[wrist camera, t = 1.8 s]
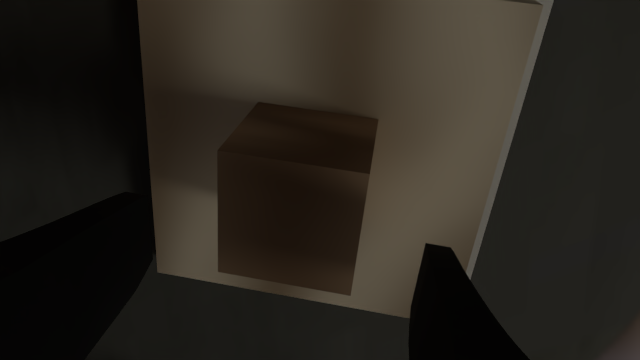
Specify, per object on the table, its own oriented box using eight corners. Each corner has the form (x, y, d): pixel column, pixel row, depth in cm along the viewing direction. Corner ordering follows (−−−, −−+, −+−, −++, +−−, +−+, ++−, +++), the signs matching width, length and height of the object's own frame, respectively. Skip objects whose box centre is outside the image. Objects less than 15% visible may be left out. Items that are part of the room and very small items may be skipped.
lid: (167, 257, 22) (105, 343, 17) (149, -46, 16) (49, -33, 12) (448, 308, 20) (459, 414, 16) (535, 0, 15) (588, 33, 10)
